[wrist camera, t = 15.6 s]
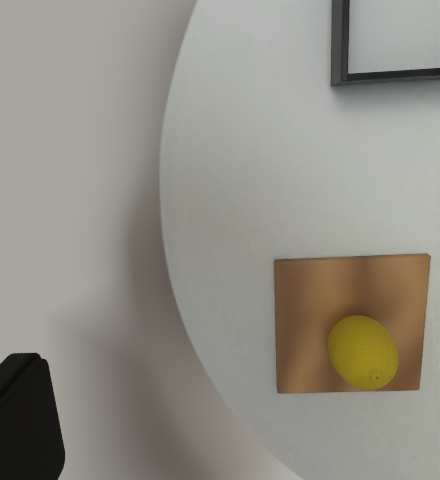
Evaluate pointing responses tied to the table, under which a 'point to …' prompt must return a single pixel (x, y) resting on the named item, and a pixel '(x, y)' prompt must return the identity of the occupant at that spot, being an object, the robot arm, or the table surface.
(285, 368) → the cork mat
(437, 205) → the table surface
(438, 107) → the table surface
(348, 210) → the table surface
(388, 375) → the lemon
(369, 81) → the black square frame
